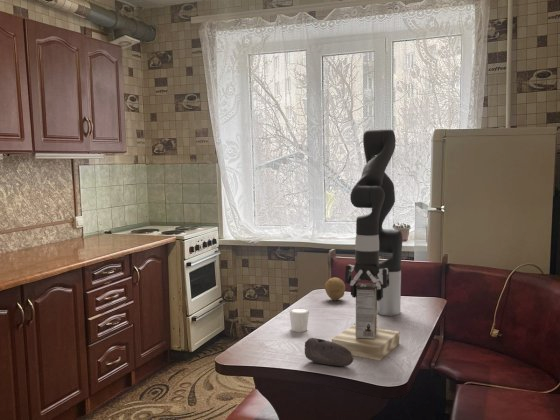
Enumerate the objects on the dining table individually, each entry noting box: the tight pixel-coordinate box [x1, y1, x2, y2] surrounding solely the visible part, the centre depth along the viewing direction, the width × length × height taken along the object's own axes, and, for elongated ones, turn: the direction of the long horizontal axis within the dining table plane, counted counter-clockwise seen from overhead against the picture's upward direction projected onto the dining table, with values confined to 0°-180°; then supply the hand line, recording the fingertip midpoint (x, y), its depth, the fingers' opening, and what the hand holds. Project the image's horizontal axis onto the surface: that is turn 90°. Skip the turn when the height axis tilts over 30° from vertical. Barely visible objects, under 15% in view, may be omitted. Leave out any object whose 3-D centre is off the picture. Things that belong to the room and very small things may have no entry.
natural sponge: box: [324, 276, 346, 301], centre depth 240 cm, size 9×9×10 cm
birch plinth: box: [331, 324, 400, 361], centre depth 179 cm, size 18×16×4 cm
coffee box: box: [355, 282, 378, 339], centre depth 178 cm, size 9×6×16 cm
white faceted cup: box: [289, 307, 310, 333], centre depth 198 cm, size 7×7×7 cm
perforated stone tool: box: [304, 337, 354, 367], centre depth 164 cm, size 15×5×7 cm, turn 59°
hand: (366, 298), depth 178 cm, fingers open, 8 cm apart
